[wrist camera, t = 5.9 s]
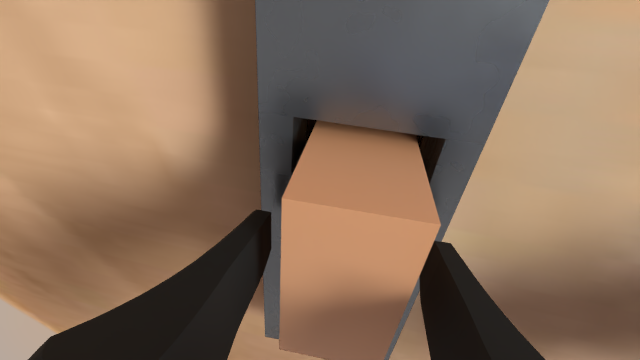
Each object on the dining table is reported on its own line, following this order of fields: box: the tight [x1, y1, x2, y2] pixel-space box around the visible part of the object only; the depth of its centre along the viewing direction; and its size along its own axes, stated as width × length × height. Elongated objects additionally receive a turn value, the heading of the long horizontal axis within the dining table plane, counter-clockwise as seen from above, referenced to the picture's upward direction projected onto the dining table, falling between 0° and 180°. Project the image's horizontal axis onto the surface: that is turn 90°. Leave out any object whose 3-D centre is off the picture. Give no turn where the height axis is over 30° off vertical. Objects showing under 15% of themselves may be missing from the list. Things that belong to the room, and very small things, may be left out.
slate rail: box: [255, 0, 549, 360], centre depth 14 cm, size 22×8×3 cm, turn 175°
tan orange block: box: [279, 120, 441, 360], centre depth 12 cm, size 8×4×7 cm, turn 175°
